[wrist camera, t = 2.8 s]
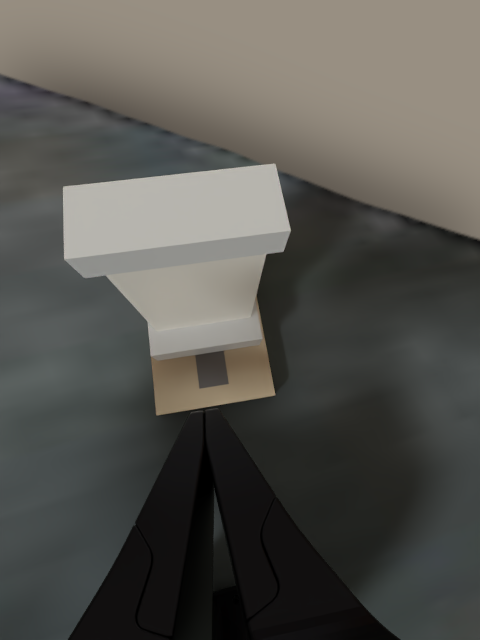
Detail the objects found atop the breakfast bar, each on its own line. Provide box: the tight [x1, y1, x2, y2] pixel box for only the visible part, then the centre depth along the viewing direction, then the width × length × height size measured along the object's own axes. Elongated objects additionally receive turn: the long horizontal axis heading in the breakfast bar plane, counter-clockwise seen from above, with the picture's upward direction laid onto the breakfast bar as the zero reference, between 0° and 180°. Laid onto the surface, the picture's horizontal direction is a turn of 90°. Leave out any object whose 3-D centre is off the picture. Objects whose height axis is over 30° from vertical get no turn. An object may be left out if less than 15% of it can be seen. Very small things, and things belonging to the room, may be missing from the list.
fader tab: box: [63, 164, 291, 361], centre depth 16 cm, size 5×7×13 cm
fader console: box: [151, 295, 275, 415], centre depth 24 cm, size 18×8×2 cm, turn 9°
